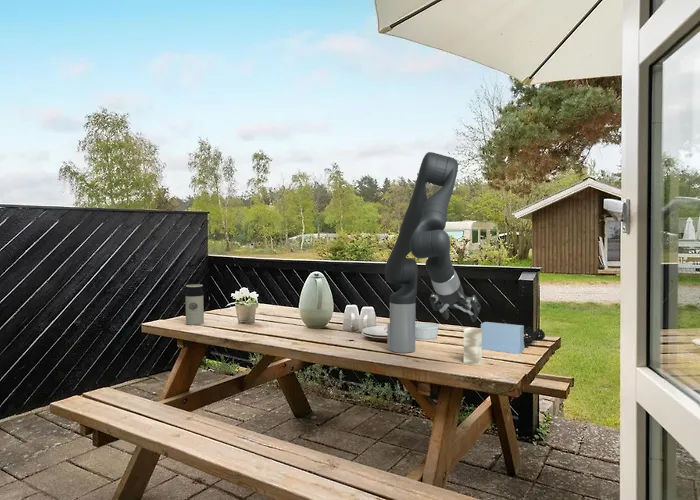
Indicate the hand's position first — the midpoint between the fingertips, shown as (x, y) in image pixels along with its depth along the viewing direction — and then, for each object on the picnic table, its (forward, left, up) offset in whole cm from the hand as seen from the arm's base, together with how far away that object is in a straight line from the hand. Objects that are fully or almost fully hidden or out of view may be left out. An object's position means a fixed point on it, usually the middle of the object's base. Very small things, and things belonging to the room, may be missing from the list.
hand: (460, 318), depth 153 cm
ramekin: (-29, +39, -17) cm, 51 cm away
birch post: (0, +12, -16) cm, 20 cm away
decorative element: (+9, +51, -17) cm, 54 cm away
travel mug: (-132, +10, -17) cm, 134 cm away
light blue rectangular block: (+3, +35, -16) cm, 38 cm away
